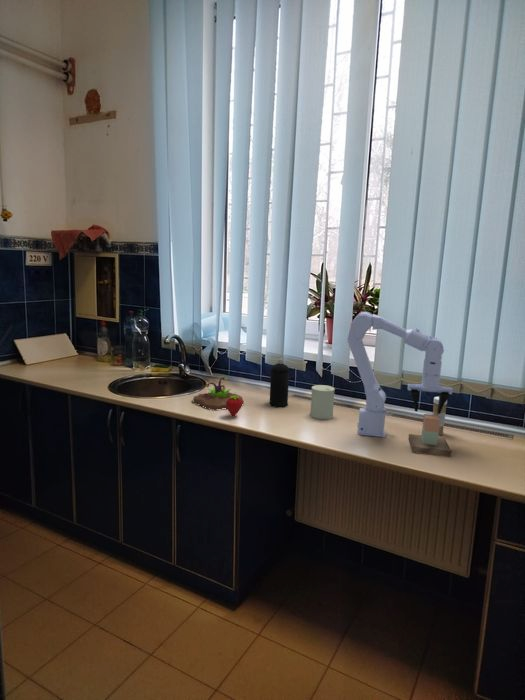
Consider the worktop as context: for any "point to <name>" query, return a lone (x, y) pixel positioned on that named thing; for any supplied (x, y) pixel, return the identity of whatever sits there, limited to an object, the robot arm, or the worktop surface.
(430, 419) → the terracotta cube
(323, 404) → the can
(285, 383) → the aerosol can
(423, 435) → the sage cube
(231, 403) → the strawberry
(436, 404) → the sprinkles bottle
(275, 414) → the worktop surface
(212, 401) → the plant
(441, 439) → the walnut base
